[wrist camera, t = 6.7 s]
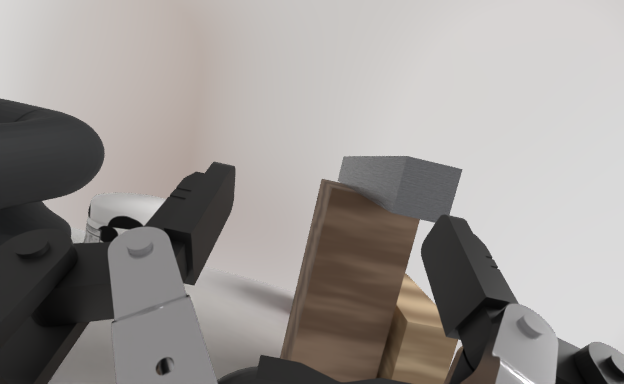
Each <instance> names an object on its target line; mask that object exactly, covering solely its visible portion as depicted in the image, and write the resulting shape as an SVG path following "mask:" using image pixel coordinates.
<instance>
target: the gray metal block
mask: <svg viewBox="0 0 624 384" xmlns="http://www.w3.org/2000/svg"><path fill="white" fill-rule="evenodd" d="M461 172H462V169H458V168H455V167H450V166H446V165H442V164H438V163H433V162H429V161H425V160H421V159H417V158H413V157H409V156H362V157H361V156H353V157H343V162H342V165H341V170H340V174H339V178H338V181H339V182H340V183H342V184H344V185H345V186H347V187H349V188H351V189H352V190H354V191H356V192H357V193H359V194H361V195H362V196H364V197H366V198H367V199H369V200H371V201H372V202H374V203H376V204H378V205H379V206H381V207H383V208H384V209H386V210H388V211H389V212H391V213H394V214H398V215H403V216H408V217H412V218H417V219H421V220H426V221H430V222H435V223H436V221H437V220H438V218H439V217H440V216H441V215H444V214H445V215H449V214H450V210H451V207H452V203H453V200H454V197H455V193H456V190H457V186H458V183H459V179H460V176H461Z"/></svg>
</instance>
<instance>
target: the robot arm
mask: <svg viewBox="0 0 624 384" xmlns="http://www.w3.org/2000/svg"><path fill="white" fill-rule="evenodd" d="M103 160H104V147H103V144H102V141H101V139H100V137H99V136H98V134H97V133H96V132H95V131H94V130H93V129H92V128H91V127H90V126H89V125H87V124H86V123H84V122H83V121H81V120H79V119H77V118H75V117H73V116H71V115H68V114H65V113H62V112H58V111H54V110H50V109H45V108H41V107H37V106H32V105H28V104H24V103H19V102H14V101H10V100H4V99H0V384H47V383H48V382H49V380H50V379H51V377H52V376H53V375H54V373H55V372H56V370H57V369H58V367H59V366H60V364H61V363H62V361H63V360H64V358H65V357H66V356H67V354H68V353H69V351H70V350H71V348H72V347H73V345H74V344H75V342H76V341H77V340H78V338H79V337H80V335H81V334H82V332H83V331H84V329H85V328H86V326H87V325H88V324H89V322H91V321H99V320H107V319H114V321H113V322H112V326H111V330H112V343H113V354H114V364H115V375H116V384H412V383H407V382H401V381H396V380H391V379H385V378H375V379H367V380H359V381H351V382H339V381H337V380H335V379H333V378H331V377H329V376H327V375H325V374H323V373H321V372H319V371H317V370H315V369H313V368H311V367H309V366H307V365H305V364H303V363H301V362H296V361H290V360H285V359H280V358H274V357H269V356H264V355H261V356H260V361H259V365H258V366H257V367H250V368H245V369H241V370H238V371H235V372H233V373H230V374H228V375H226V376H224V377H222V378H220V379H219V380H216V376H215V373H214V370H213V367H212V364H211V360H210V357H209V354H208V351H207V348H206V345H205V341H204V338H203V335H202V332H201V329H200V325H199V322H198V319H197V316H196V313H195V309H194V306H193V303H192V300H191V298H190V296H189V295H187V294H186V291H185V288H184V285H183V284H184V283H185V284H190V285H195V283H196V281H197V279H198V277H199V275H200V273H201V271H202V269H203V267H204V265H205V263H206V261H207V259H208V257H209V255H210V253H211V251H212V249H213V247H214V245H215V243H216V241H217V239H218V237H219V235H220V233H221V231H222V229H223V227H224V225H225V223H226V221H227V219H228V217H229V215H230V212H231V210H232V206H233V201H234V186H235V166H231V165H227V164H222V163H218V162H213V163H212V164H211V166H210V167H209V169H208V170H207V171H206V172H205V173H200V172H195V173H193V174H191V175H189V176H187V177H185V178H184V179H183V180H182V181H181V182H180V184H179V185H178V186H177V188H176V189H175V190H174V191H173V192H172V193H171V195H170V197H168V198H167V199H166V200H165V202H164V203H163V204H162V205H161V206H160V208H159V209H158V210H157V211H156V212H155V213H154V215H153V216H152V217H151V218H150V219H149V221H148V222H147V223H146V224H145V225H144V226H143V227H138V228H134V229H130V230H128V231H125V232H123V233H121V234H120V235H118V236H117V237H116V238H115V239H114V240H113V241H111V242H98V243H75V244H73V242H72V239H71V228H70V225H69V224H68V223H67V222H66V221H65V220H64V219H62V218H61V217H60V216H58V215H56V214H55V213H53V212H52V211H51V210H49V209H48V208H47V207H46V206H45V205H44V203H43V202H42V201H43V200H48V199H53V198H57V197H61V196H65V195H68V194H70V193H73V192H75V191H77V190H79V189H81V188H82V187H84V186H85V185H86V184H88V183H89V182H90V181H91V180H92V179H93V178H94V176H96V174H97V173H98V172H99V170H100V168H101V166H102V164H103ZM421 256H422V260H423V263H424V267H425V270H426V273H427V276H428V280H429V283H430V286H431V289H432V293H433V296H434V299H435V303H436V306H437V309H438V313H439V316H440V319H441V323H442V326H443V329H444V332H445V336H446V337H449V338H454V339H459V340H461V342H462V345H463V346H462V347H460V348H459V349H458V351H457V353H456V355H455V358H454V360H453V362H452V365H451V367H450V369H449V372H448V374H447V376H446V379H445V381H444V383H443V384H624V355H623V354H622V353H621V352H619V351H618V350H616V349H614V348H613V347H611V346H609V345H606V344H604V343H601V342H593V343H590V344H589V345H587V346H585V347H584V348H582V349H580V348H578V347H575V346H574V345H572V344H569V343H567V342H565V341H563V340H561V339H559V338H557V336H556V334H555V332H554V331H553V329H552V328H551V327H550V325H549V324H548V323H547V322H546V321H545V320H544V319H543V318H542V317H541V316H540V315H539V314H537V313H536V312H534V311H533V310H531V309H529V308H528V307H526V306H523V305H520V304H518V302H517V300H516V298H515V297H514V295H513V293H512V291H511V289H510V288H509V286H508V284H507V282H506V280H505V279H504V277H503V275H502V273H501V272H500V270H499V269H497V268H498V266H497V265H496V263H495V261H494V260H493V259H492V256H491V254H490V252H489V251H488V249H487V247H486V246H485V244H484V243H483V242H482V241H481V240H480V239H479V238H478V237H477V236H476V235H475V234H473V232H472V231H471V229H470V227H469V225H468V223H467V221H466V220H465V219H463V218H458V217H453V216H450V215H445V214H444V215H441V216H440V217H439V218H438V220H437V221H436V223H435V225H434V226H433V228H432V229H431V231H430V232H429V234H428V235H427V237H426V238H425V240H424V242H423V244H422V248H421Z"/></svg>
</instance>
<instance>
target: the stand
mask: <svg viewBox="0 0 624 384" xmlns="http://www.w3.org/2000/svg"><path fill="white" fill-rule="evenodd" d="M419 220H420V219H417V218H412V217H408V216H403V215H398V214H394V213H391V212H389V211H388V210H386V209H384V208H383V207H381V206H379V205H378V204H376V203H374V202H372V201H371V200H369V199H367V198H366V197H364V196H362V195H361V194H359V193H357V192H356V191H354V190H352V189H351V188H349V187H347V186H345V185H344V184H342V183H338V182H334V181H329V180H325V179H322V180H321V185H320V189H319V193H318V198H317V202H316V206H315V210H314V215H313V219H312V223H311V227H310V232H309V236H308V240H307V245H306V249H305V253H304V257H303V262H302V266H301V270H300V275H299V279H298V283H297V287H296V292H295V296H294V300H293V304H292V309H291V313H290V317H289V321H288V326H287V330H286V334H285V339H284V343H283V347H282V351H281V356H280V359H285V360H290V361H296V362H301V363H303V364H305V365H307V366H309V367H311V368H313V369H315V370H317V371H319V372H321V373H323V374H325V375H327V376H329V377H331V378H333V379H335V380H337V381H339V382H351V381H359V380H367V379H375V378H385V379H391V380H396V381H401V382H407V383H412V384H443V383H444V381H445V379H446V376H447V374H448V371H449V368H450V364H451V361H452V358H453V355H454V351H455V348H456V345H457V342H458V339H454V338H449V337H446V336H445V332H444V329H443V326H442V323H441V319H440V316H439V313H438V309H437V306H436V305H435V304H434V303H433V302H432V301H431V299H430V298H429V297H428V296H427V295H426V294H425V293H424V292H423V291H422V290H421V289H420V288H419V287H418V286H417V285H416V284H415V282H414V281H413V280H412V279H411V278H410V277H409V276H408V275H407V274H405V271H406V268H407V264H408V260H409V257H410V253H411V250H412V246H413V242H414V239H415V235H416V231H417V227H418V224H419Z"/></svg>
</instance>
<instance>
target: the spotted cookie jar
mask: <svg viewBox="0 0 624 384" xmlns="http://www.w3.org/2000/svg"><path fill="white" fill-rule="evenodd" d="M165 200H166V199H164V198H159V197H155V196H150V195H143V194H133V193H103V194H99V195H96V196H94V197H93V198H92V200H91V203H90V207H89V212H88V214H89V216H88V219H87V226H86V235H85V240H84V243H98V242H111V241H113V240H114V239H115V238H116V237H117V236H118V235H120V234H121V233H123V232H125V231H128V230H130V229H134V228H138V227H143V226H144V225H145V224H146V223H147V222H148V221H149V219H150V218H151V217H152V216H153V215H154V213H155V212H156V211H157V210H158V209H159V208H160V206H161V205H162V204H163V203H164V202H165Z"/></svg>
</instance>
